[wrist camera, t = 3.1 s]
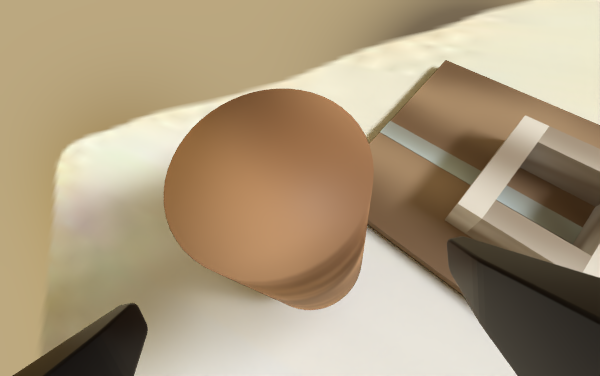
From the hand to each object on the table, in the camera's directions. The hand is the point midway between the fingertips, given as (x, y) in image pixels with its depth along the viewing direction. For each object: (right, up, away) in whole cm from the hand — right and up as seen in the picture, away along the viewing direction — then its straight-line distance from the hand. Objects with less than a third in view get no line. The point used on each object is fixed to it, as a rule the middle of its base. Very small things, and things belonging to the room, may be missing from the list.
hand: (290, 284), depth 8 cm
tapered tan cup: (+1, -2, +10) cm, 10 cm away
